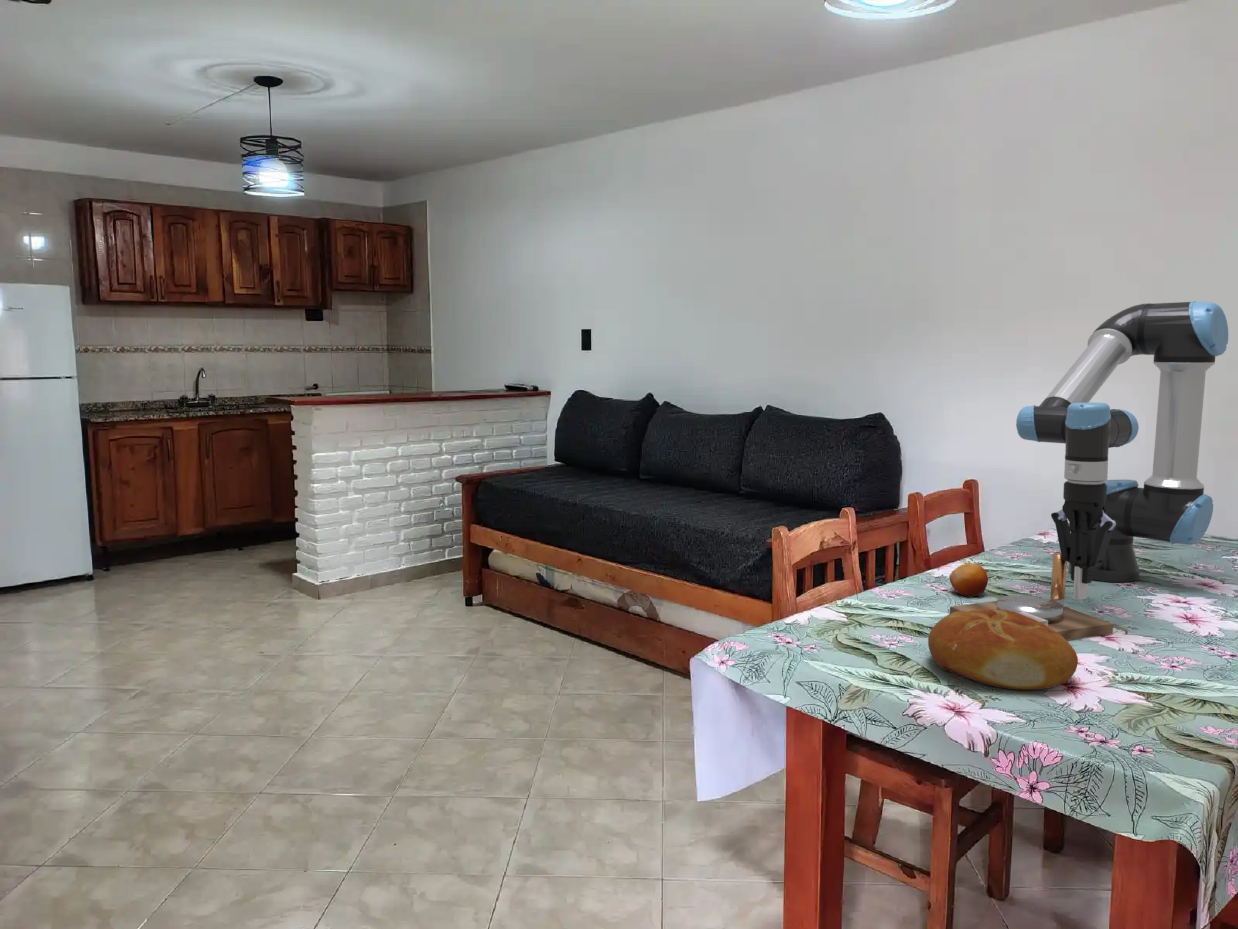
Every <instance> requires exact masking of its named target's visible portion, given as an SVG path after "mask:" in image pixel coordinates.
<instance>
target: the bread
mask: <svg viewBox="0 0 1238 929" xmlns="http://www.w3.org/2000/svg"><path fill="white" fill-rule="evenodd" d="M934 624H935V623H934ZM927 642H928V643H927V644H928V649H929V653H930V656H931V657H932V659H933V660H934V662H935V664H937V665H938V666H939V667H940V668H942V669H943V670H945V671H947V672H949V673H952V674H956V675H959V676H963V677H964V678H966V679H970V680H972V681H974V682H977V683H981V684H984V685H987V686H992V687H996V688H1002V689H1008V690H1015V691H1016V690H1018V691H1030V690H1031V691H1032V690H1033V691H1034V690H1035V691H1036V690H1043V689H1049V688H1053V687H1057V686H1060V685H1063V684H1065V683H1066V682H1068V681H1069V680H1070V679H1071V678H1072V677H1073V675H1074V674H1075V673H1076V671H1077V669H1078V668H1077V667H1078V664H1079V660H1078V654H1077V653H1076V650H1075V649H1074V647H1073V646H1072V645H1071V643H1069V640H1066V639H1065V638H1064V637H1063V636H1061V635H1060V634H1059V633H1057V632H1056V631H1054V630H1053V629H1051V628H1050V627H1048V626H1046V625H1044V624H1042V623H1040V622H1038V621H1036V620H1034V619H1032V618H1029V617H1026V616H1024V615H1022V614H1019V613H1016V612H1013V611H1009V610H998V609H977V610H972V611H968V612H966V611H957V612H953V613H951V614H950V613H949V614H948V615H945V616H944V617H943V618H941V619H940V620H939V621H937V622H936V624H935V625H933V627H932V628H931V629H930V631H929V634H928V638H927Z"/></svg>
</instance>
